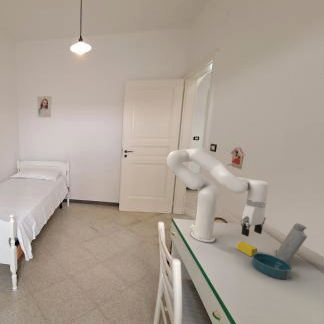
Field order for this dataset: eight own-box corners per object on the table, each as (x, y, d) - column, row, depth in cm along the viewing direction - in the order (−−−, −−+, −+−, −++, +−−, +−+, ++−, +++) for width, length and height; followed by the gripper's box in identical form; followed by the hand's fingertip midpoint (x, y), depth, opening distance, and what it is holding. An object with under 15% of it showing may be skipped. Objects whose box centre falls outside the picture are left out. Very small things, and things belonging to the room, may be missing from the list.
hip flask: (287, 266, 100) (310, 233, 94) (276, 261, 103) (298, 228, 97) (285, 252, 112) (305, 222, 106) (275, 248, 114) (294, 218, 108)
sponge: (237, 248, 115) (238, 242, 114) (242, 247, 116) (243, 241, 115) (250, 256, 108) (252, 249, 107) (256, 255, 109) (257, 248, 108)
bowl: (244, 263, 102) (246, 255, 101) (263, 259, 106) (264, 251, 105) (277, 282, 89) (279, 273, 89) (296, 276, 93) (298, 267, 93)
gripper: (258, 199, 113) (254, 228, 116) (236, 202, 108) (232, 232, 111) (275, 204, 106) (270, 235, 109) (252, 207, 101) (247, 239, 104)
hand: (251, 233), depth 110 cm, fingers open, 9 cm apart
